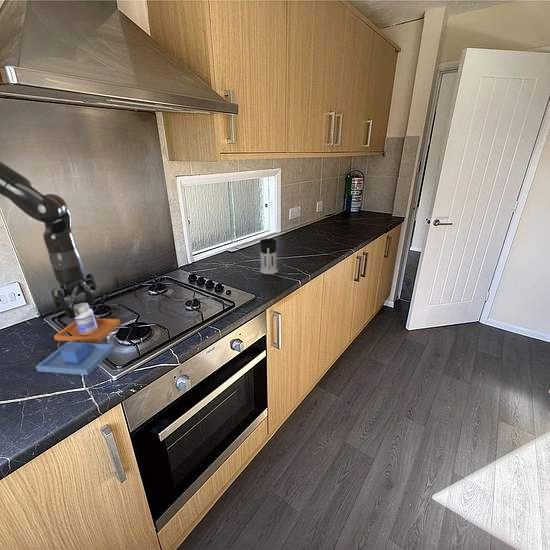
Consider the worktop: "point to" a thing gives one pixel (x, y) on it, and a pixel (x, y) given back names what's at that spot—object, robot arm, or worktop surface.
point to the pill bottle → (85, 319)
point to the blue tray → (85, 368)
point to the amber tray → (103, 330)
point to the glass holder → (268, 256)
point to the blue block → (75, 353)
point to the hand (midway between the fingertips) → (82, 310)
